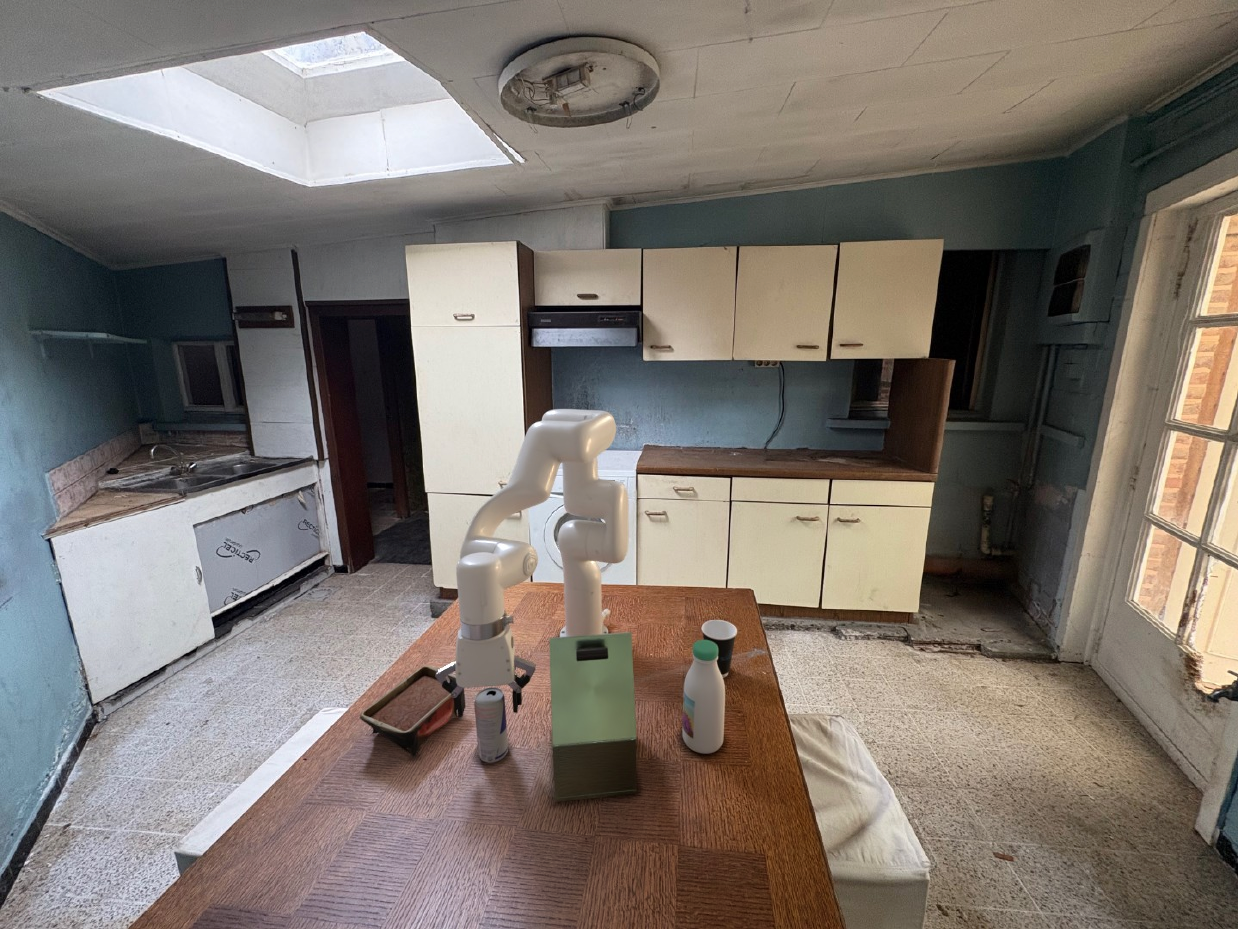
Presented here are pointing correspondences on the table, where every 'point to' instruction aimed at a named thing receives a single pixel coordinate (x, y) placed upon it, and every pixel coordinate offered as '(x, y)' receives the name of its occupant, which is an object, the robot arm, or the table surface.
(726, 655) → the dixie cup
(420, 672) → the rectangular footed planter
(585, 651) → the bin lid
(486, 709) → the energy drink
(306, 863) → the table surface
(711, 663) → the milk bottle
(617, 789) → the bin
